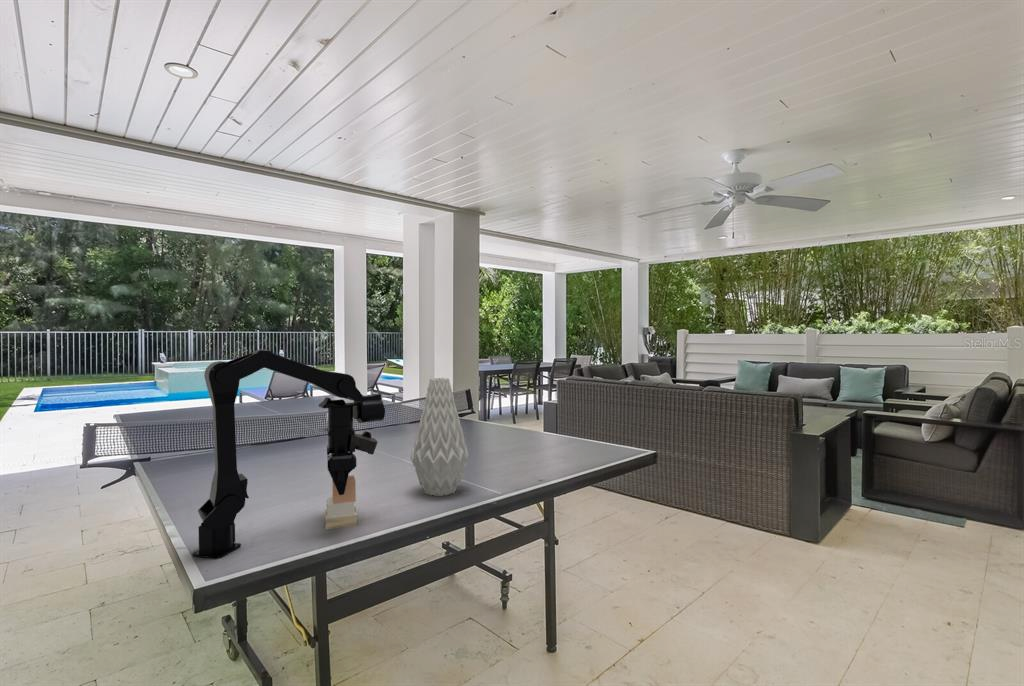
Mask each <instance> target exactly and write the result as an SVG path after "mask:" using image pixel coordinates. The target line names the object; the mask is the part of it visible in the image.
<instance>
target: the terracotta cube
mask: <svg viewBox="0 0 1024 686" xmlns="http://www.w3.org/2000/svg"><path fill="white" fill-rule="evenodd" d="M331 483H332V484H331V485H332V488H331V489H332V495H331V496H332V497H333V504H337V503H345V502H353V501H354V502H356V499H357V498H356V497H357V496H356V495H357V492H356V490H357V489H356V479H355V476H354V474H352V475H348V479H347V483H346V488H345V493H344V495H339V493H338V491H337V489H336V486H335V484H334V482H333V480H331Z"/></svg>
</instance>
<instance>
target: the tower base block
mask: <svg viewBox="0 0 1024 686" xmlns="http://www.w3.org/2000/svg"><path fill="white" fill-rule="evenodd" d="M354 509H355V514H354V515H346V516H339V517H331V518H328V515H327V508H326V509H325V510H324V511H325V530H331V529H339V528H347V527H354V526H358V514H357V509H356V505H354Z"/></svg>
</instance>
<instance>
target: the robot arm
mask: <svg viewBox="0 0 1024 686" xmlns="http://www.w3.org/2000/svg"><path fill="white" fill-rule="evenodd" d="M262 369H266V370H270V371H273V372H275V373H278V374H279V373H280V374H282V375H285V376H288V377H291V378H294V379H296V380H300V381H303V382H306V383H309V384H311V385H312V386H315V388H317V389H319V390H320V391H322V392H324V393H326V394H328V395H330V396H332V397H336V398H339V399H331V398H330V397H327V396H326V397H325V398H324V399H323V400H322V401H321V402H320V403H319V404H318V407H319V408H321V409H327V413H328V423H327V445H326V456H327V463H326V464H327V471H328V473H329V475H330V477H331V479H332V480H333V482H334V484H335V486H336V489H337V491H338V493H339V495H344V493H345V488H346V483H347V479H348V476H349V474H350V473H351V472H352V471H353V470H355V468H356V467H357V456H356V455H355V454H354V453H355V452H356V451H360V452H364V453H367V454H368V455H374V454H375V451H376V449H377V445H378V439H377V438H375V437H372V434H371V432H369V431H366V430H365V431H363V432H362V433H361V434H360V433H356V431H355V428H354V420H356V422H358V423H359V424H364V423H375V422H383V420H384V419H385V416H386V408H385V404H384V402H383V400H382V395H381V394H379V393H373V394H367V395H363V394H362V392H360V390H359V389H358V387H357V385H356V380H355V378H354V377H353V376H352V375H351V374H348V373H343V372H336V371H332V370H331V371H330V370H325V369H319V368H316V367H313V366H311V365H307V364H305V363H303V362H300V361H297V360H294V359H291V358H288V357H285V356H282V355H279V354H276V353H274V352H272V351H271V350H269V349H265V348H263V349H262V348H259V349H256V350H254V351H253V352H251V353H248V354H245V355H242V356H240V357H237V358H234V359H231V360H229V361H222V360H218V361H213V362H212V363H210V364H209V365H208V366H207V367H205V370H204V375H203V376H204V381H205V385H206V388H207V393H208V396H209V398H210V401H211V404H212V405H211V406H212V418H213V419H212V422H213V424H212V426H213V445H214V446H213V447H214V449H213V450H214V468H215V470H214V473H213V478H212V480H211V486H210V493H209V498H208V499H207V500H206V501H205V502H204V504H202V506H200V507H199V508H198V510H197V513H198V516H199V517H200V519H201V521H202V522H201V523H200V525H199V526H198V550H196V551H194V552H192V555H191V556H192V557H199V558H200V557H202V558H210V559H219V558H222V557H224V556H226V555H228V554H229V553H231V552H233V551H235V550H237V549H238V548H240V547H241V545H242V544H241V543H239V542H238V543H237V542H236V523H235V519H236V518H237V514H238V513H240V512H241V511H242V509H244V508H245V505H246V499H249V494H248V490H247V489H248V488H247V487H248V482H249V481H248V478H247V477H246V476H245V475H244V474H243V473H239V470H238V463H237V440H236V439H237V437H236V413H235V403H236V399H237V397H238V393H239V387H240V382H241V380H242V379H245V378H246V377H248V376H251V375H253V374H255V373H257V372H258V371H260V370H262ZM344 399H345V400H346V399H347V400H349V401H352V402H346V401H345V400H344ZM332 480H331V481H332Z"/></svg>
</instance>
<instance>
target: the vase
mask: <svg viewBox="0 0 1024 686" xmlns="http://www.w3.org/2000/svg"><path fill="white" fill-rule="evenodd" d="M428 383H429V384H428V387H427V388H426V390H427V391H426V395H425V399H424V400H425V401H424V404H423V407H422V408H423V409H422V412H421V416H420V420H419V424H418V427H417V430H416V437H415V440H414V444H413V448H412V450H411V455H410V460H411V463H412V465H413V466H414V469H415V473H416V476H417V479H418V482H419V484H420V486H422V488H423V491H424V493H425V494H426V495H428V494H429V495H428V496H432V495H434V497H436V496H437V497H442V496H443V495H444V496H448V495H449V494H450V495H453V494H454V493H455V491H456V492H457V489H458V485H459V484H460V483H461V481H462V477H463V474H464V472H465V471H464V470H465V467H466V464H467V462H468V460H469V455H470V454H469V451H468V448H467V447H468V446H467V442H466V439H465V435H464V431H463V427H462V424H461V420H460V417H459V412H458V409H457V407H456V406H457V405H456V403H455V397H454V392H453V390H452V386H451V382H450V378H448V377H434V378H433V377H432V378H429V382H428ZM452 493H453V494H452ZM444 496H443V497H444Z"/></svg>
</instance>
